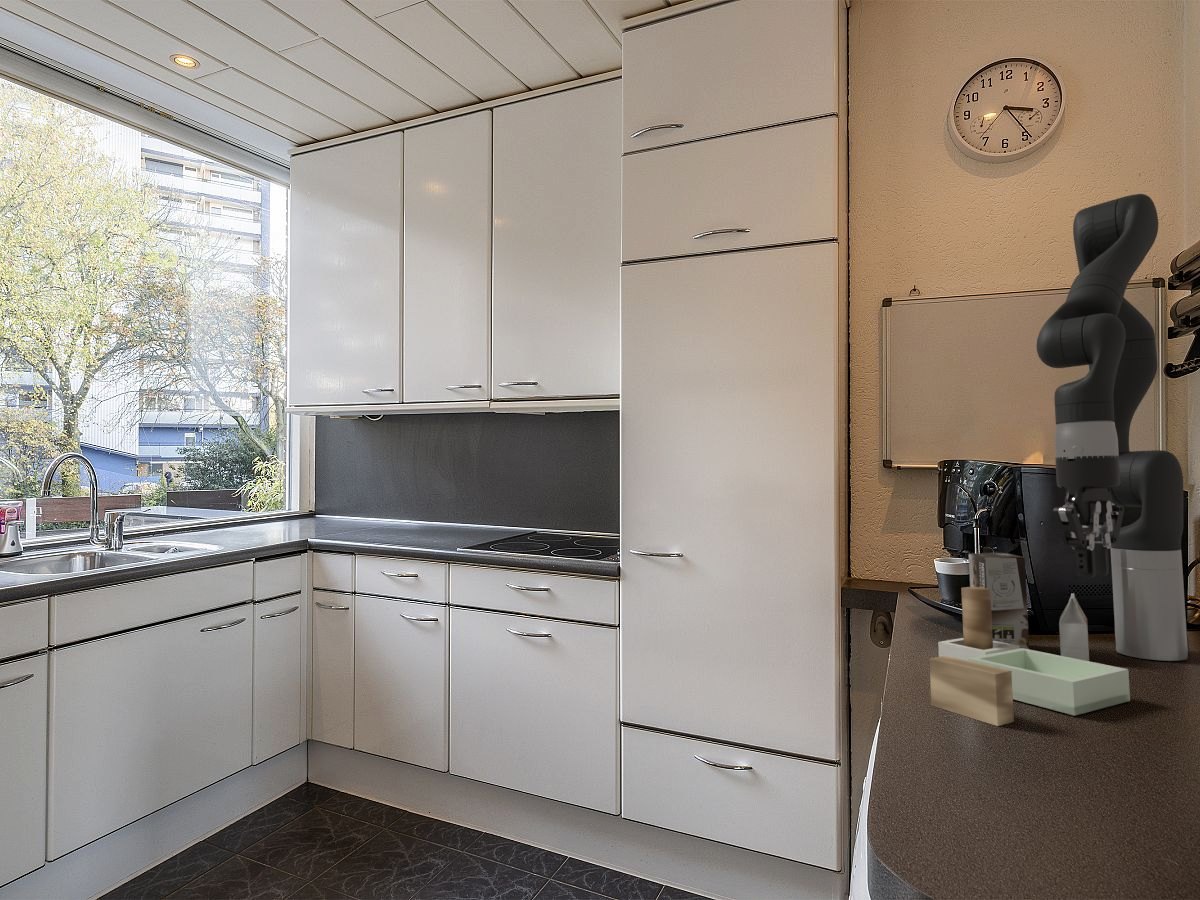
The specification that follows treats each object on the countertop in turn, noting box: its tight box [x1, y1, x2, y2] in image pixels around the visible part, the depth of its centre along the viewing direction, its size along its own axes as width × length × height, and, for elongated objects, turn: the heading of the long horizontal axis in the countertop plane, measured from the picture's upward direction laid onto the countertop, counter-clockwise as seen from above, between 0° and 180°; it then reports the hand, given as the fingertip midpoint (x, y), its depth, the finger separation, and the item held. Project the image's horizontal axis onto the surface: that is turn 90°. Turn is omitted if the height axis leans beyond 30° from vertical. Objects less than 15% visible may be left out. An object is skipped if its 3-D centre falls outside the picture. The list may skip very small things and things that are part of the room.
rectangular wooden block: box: [928, 656, 1015, 727], centre depth 88 cm, size 3×9×6 cm, turn 26°
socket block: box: [937, 637, 1020, 661], centre depth 110 cm, size 8×8×4 cm
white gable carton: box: [1058, 592, 1090, 662], centre depth 114 cm, size 4×7×10 cm, turn 146°
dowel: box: [961, 586, 993, 650], centre depth 110 cm, size 4×4×12 cm
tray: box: [968, 648, 1131, 716], centre depth 95 cm, size 12×14×4 cm
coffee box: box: [968, 552, 1030, 650], centre depth 122 cm, size 9×6×16 cm
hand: (1092, 575), depth 101 cm, fingers open, 2 cm apart
